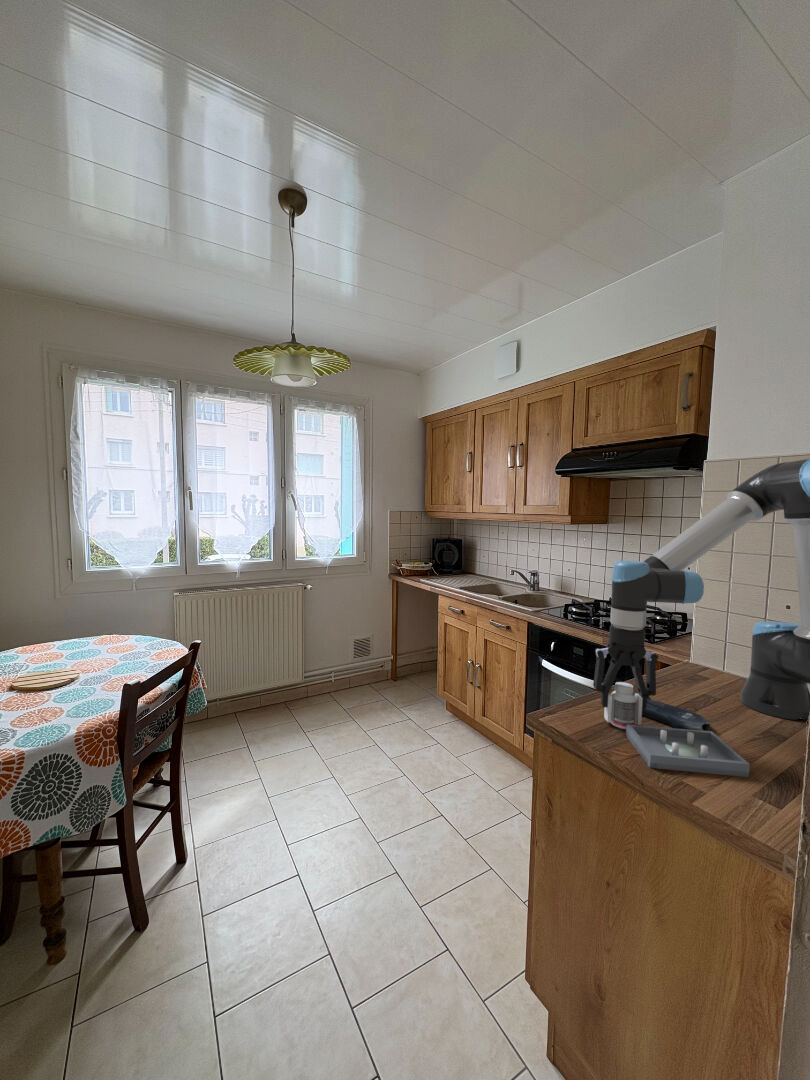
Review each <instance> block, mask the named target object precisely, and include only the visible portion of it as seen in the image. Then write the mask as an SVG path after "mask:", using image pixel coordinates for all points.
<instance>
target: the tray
mask: <svg viewBox="0 0 810 1080" xmlns="http://www.w3.org/2000/svg"><path fill="white" fill-rule="evenodd" d="M625 737H626V738H627V739H628V741H629V742H630V743H631V744H632V746H633V747H634V748H635V750H636V751H637V753H638V754H639V755H640V756H641V758H642V759H643V760H644V762H645V763H646V764H647V766H648V767H649V768H650V769H657V770H658V769H659V770H669V771H670V770H671V771H679V772H680V771H682V772H690V773H701V774H713V775H721V776H731V777H732V776H733V777H743V778H750V768H751V764H750V763H749V762H748V761H747V760H746V759H744V757H742V755H740V754H739V753H737V751H735V750H734V749H733V748H732V747H731V746H730V745H728V744H727V743H726V742H725V741H724V740H723V739H722V738H720V737H719V736H718V735H717V734H716V733H715V732H714V731H710V730H709V731H706V730H704V731H700V730H688V729H677V728H675V727H661V726H652V725H651V726H650V725H649V726H648V725H637V724H635V725H628V724H627V727H626V729H625Z"/></svg>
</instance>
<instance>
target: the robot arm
mask: <svg viewBox="0 0 810 1080" xmlns="http://www.w3.org/2000/svg"><path fill="white" fill-rule="evenodd" d="M777 511H783V517H784V520H785V522H788V523H789V524H790V525H791V526H792V527H793V537H794V551H795V563H796V575H797V577H796V578H797V589H798V591H797V592H798V602H799V613H800V614H799V616H800V623H797V622H796V623H794V622H786V621H785V622H784V621H765V620H764V621H758V622H756V623H755V624H754V626H753V630H752V634H751V636H752V639H751V655H750V656H751V659H750V672H749V676H748V677H747V679H746V681H745V683H744V685H743V687H742V689H741V690H740V698H739V700H740V702H741V703H742V704H743V705H745V706H746V707H748V708H750V709H751V710H754V711H756V712H759V713H762V714H764V715H769V716H772V717H778V718H781V719H787V720H794V721H798V720H797V719H800V718H801V719H803V720H802V721H809V720H808V716H809V711H810V689H809V687H808V686H809V685H810V458H807V459H800V460H794V461H793V460H792V461H786V462H785V461H784V462H780V463H776V464H772V465H770V466H768V467H766V468H764V469H762V470H759V472H757V473H755V474H753V475H752V476H751V477H749V478H748V479H746V480H744V481H743V482H742V483H740V484H739V485H738V486H736V487H735V488H734V489H732V490H731V491H730V492H728V493H727V495H726V499H725V501H723V502H722V503H720V504H719V505H718V506H716V507H714V509H712V510H711V511H710V512H708V513H707V514H705V515H704V516H703V517H702V518H700V519H699V520H697V521H696V522H694V524H692V525H690V527H688V528H687V529H685V530H684V531H683V532H681V533H680V534H679V535H678V536H676V537H675V538H673V539H672V540H670V541H669V542H668V543H666V544H665V545H664V546H663V547H661V548H660V549H659V550H657V551H656V552H654V553H653V554H652V555H650V556H649V557H648V558H646V559H645V560H643V561H638V560H617V561H615V563H614V565H613V569H612V575H611V603H610V617H609V618H610V623H611V624H610V625H609V634H608V635H609V638H608V639H609V640H608V644H607V646H606V647H605V648H603V647H602V648H600V647H596V648H594V653H595V657H596V658H595V659H596V661H595V669H594V676H593V685H592V686H593V688H594V690H596V691H597V692H598V693H599V692H600V693H601V694H600V704H601V706H602V707H603V708H604V711H603V712H604V713H603V717H604V718H603V719H605V721H606V722H607V723H610V724H611V712H612V695H611V694H612V693H610V692H611V690H612V687H613V684H614V683H615V679H616V677H617V675H618V672H619V670H620V669H621V668H622V666H628V667H631V671H632V674H633V677H634V681H635V685H636V688H637V692H638V693H634V696H635V697H636V711H635V724H636V725H640V726H642V716H643V715H642V710H645V709H646V701H647V699H648V698H649V697H650V696H652V697H653V696H656V694H657V679H656V678H657V676H656V671H657V669H656V664H657V661H658V659H659V655H658V654H657V653H655V652H654V651H649V650H647V649H646V648H645V643H646V642H645V641H646V629H645V627H646V626H647V607H648V606H647V605H648V603H667V604H670V603H671V604H681V605H684V604H696V603H698V602H700V600H701V599H702V598H703V596H704V591H705V590H704V589H705V585H704V580H703V578H702V576H701V575H700V574H699V573H697V572H695V571H686V570H685V569H686V568H688V567H689V566H690V565H692V564H694V563H695V562H696V561H697V560H698V559H700V558H701V557H703V556H705V555H706V554H707V553H708V552H710V551H711V550H713V549H714V548H715V547H717V546H718V545H719V544H720V543H722V542H723V541H725V540H726V539H727V538H729V537H730V536H731V535H733V534H734V533H736V532H738V530H740V529H741V528H742V527H744V526H745V525H747V524H748V523H749V522H751V521H753V522H758V521H760V520H761V519H763V518H764V517H765V516H767V515H769V514H771V513H775V512H777ZM608 654H609V655H610V657H611V658H610V662H609V666H608V670H607V672H606V674H605V676H604V672H605V665H606V661H605V660H606V658H607V655H608ZM643 658H644V660H645V679H644V677H643V674H642V673H643V672H642V668H641V664H640V661H641V660H642V659H643ZM808 684H809V685H808ZM805 719H806V720H805Z"/></svg>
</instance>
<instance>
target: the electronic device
mask: <svg viewBox="0 0 810 1080" xmlns="http://www.w3.org/2000/svg"><path fill="white" fill-rule="evenodd" d="M642 716H645V717H646V718H649V719H652V720H656V721H658V722H661V723H665V724H667V725H669V726H671V727H672V728H676V729H688V730H700V731H710V727H711V725H710V722H709V721H708V720H707V719H706V718H705V717H704V716H702V715H700V714H698V713H696V712H693V711H691V710H687V709H685V708H682V707H678V706H676V705H671V704H669V703H665V702H661V701H657V700H653V699H652V698H651V697H650V696H649V698H648V699H647V701H646V709H645V710H642ZM703 728H704V729H705V730H704V729H703Z"/></svg>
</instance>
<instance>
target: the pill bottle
mask: <svg viewBox="0 0 810 1080" xmlns="http://www.w3.org/2000/svg"><path fill="white" fill-rule="evenodd" d="M614 683H615V684H614V691H612V692H611V693H610V694H611V695H612V712H611V723H610V724H611V725H612V726H614V727H616V728H618V729H622V730H626V727H627V724H628V725H636V722H635V711H636V697H635V694H634V690H635V689H634V688H635V687H634V685H632V684H631V683H629V682H626V681H625V682H623V681H616V682H614Z"/></svg>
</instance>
